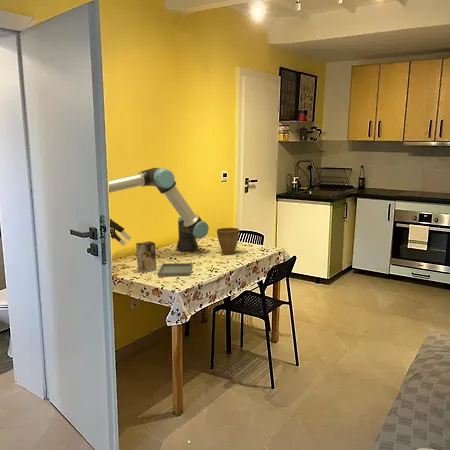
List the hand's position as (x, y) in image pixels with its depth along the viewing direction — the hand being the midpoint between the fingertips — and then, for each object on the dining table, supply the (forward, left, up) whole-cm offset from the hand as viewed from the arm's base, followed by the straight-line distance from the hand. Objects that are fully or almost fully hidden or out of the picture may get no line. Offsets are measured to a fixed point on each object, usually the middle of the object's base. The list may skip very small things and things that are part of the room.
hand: (127, 241), depth 258 cm
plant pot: (-39, +57, -17) cm, 71 cm away
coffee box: (0, +10, -17) cm, 20 cm away
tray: (+3, +27, -17) cm, 32 cm away
